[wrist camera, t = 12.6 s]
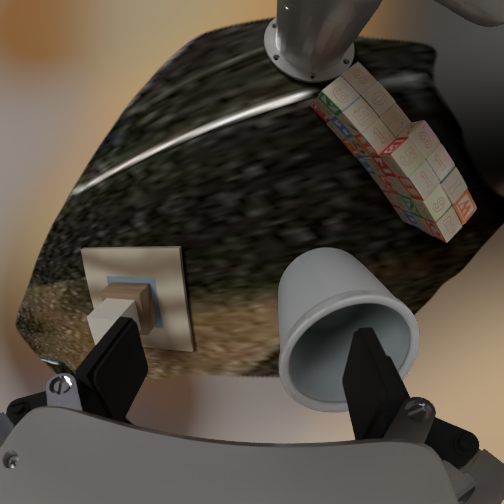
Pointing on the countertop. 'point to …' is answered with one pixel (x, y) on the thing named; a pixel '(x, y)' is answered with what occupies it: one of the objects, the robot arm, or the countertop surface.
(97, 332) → the cream block
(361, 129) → the stack of blocks
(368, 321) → the utensil holder
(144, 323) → the walnut foundation
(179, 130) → the countertop surface
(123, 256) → the board
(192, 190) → the countertop surface
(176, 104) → the countertop surface
